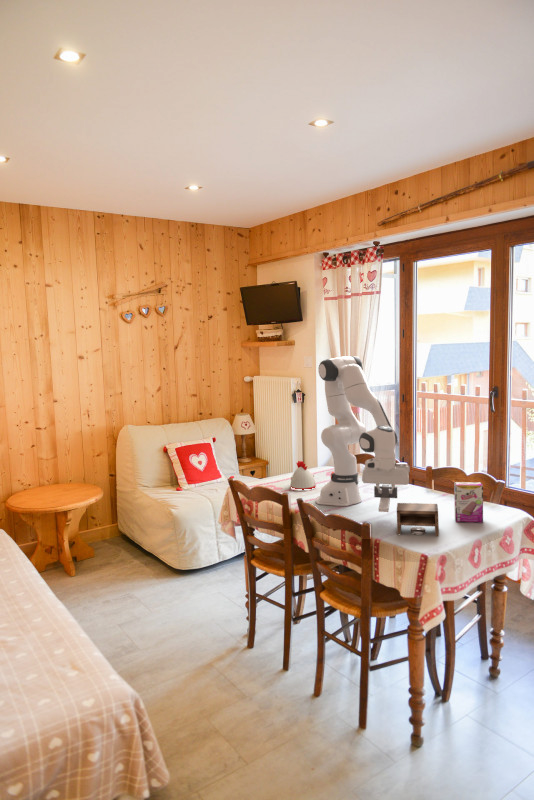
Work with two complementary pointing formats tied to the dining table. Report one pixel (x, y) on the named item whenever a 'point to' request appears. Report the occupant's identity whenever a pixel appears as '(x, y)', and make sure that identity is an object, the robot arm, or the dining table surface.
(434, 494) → the dining table surface
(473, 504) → the candy bar box
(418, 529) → the steel puck
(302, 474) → the kitchen timer
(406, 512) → the walnut cabinet
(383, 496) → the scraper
